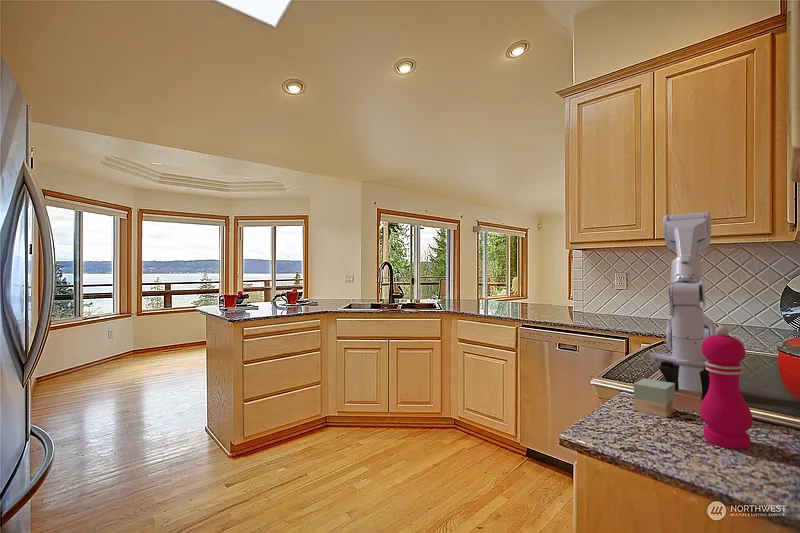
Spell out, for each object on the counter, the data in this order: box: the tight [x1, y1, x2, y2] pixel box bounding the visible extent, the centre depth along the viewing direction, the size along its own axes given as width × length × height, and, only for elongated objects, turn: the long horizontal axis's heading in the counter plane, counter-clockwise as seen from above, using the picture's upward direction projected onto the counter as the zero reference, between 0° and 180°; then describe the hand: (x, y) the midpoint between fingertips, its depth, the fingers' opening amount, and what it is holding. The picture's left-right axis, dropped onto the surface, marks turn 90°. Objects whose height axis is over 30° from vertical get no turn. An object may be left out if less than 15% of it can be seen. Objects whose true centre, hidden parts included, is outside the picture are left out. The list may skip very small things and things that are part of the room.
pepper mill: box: [699, 325, 754, 450], centre depth 70 cm, size 7×7×20 cm
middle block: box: [633, 377, 675, 404], centre depth 86 cm, size 6×6×3 cm
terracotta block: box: [675, 388, 702, 414], centre depth 87 cm, size 5×5×3 cm
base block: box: [632, 396, 677, 418], centre depth 86 cm, size 6×6×3 cm
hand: (690, 400), depth 87 cm, fingers closed on terracotta block, 5 cm apart
